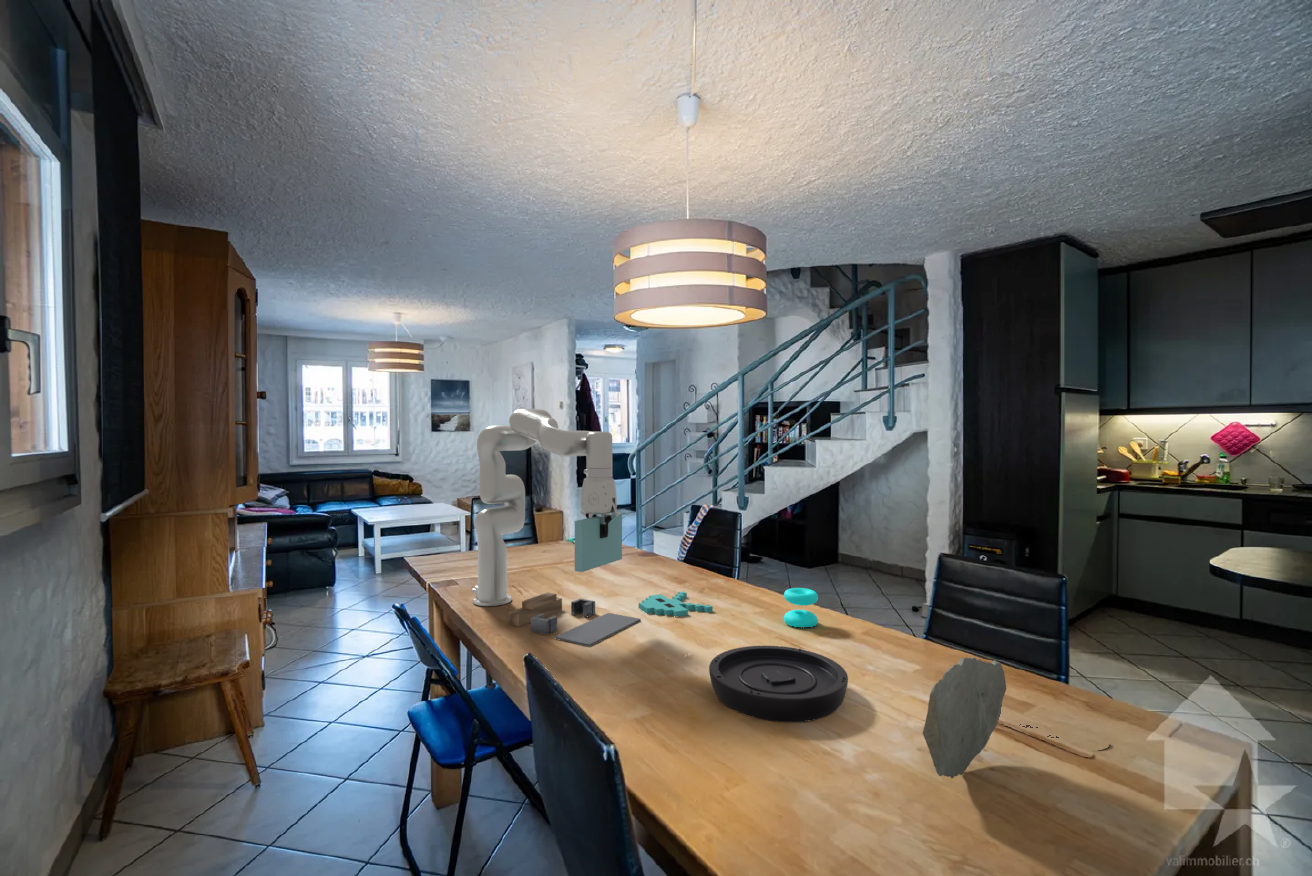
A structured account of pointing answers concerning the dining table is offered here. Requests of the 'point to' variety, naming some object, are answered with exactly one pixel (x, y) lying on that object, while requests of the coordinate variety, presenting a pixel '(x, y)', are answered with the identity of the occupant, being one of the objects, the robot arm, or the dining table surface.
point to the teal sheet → (597, 543)
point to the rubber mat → (597, 629)
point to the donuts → (801, 598)
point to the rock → (963, 713)
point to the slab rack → (550, 624)
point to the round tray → (778, 683)
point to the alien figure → (671, 605)
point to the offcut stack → (535, 608)
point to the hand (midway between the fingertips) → (599, 536)
